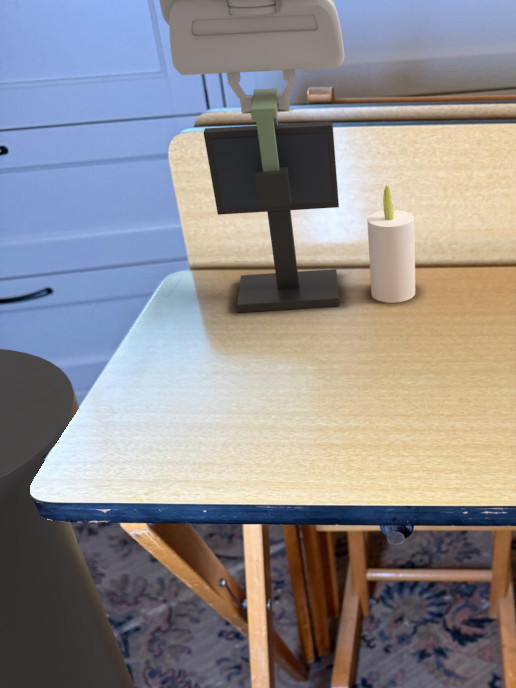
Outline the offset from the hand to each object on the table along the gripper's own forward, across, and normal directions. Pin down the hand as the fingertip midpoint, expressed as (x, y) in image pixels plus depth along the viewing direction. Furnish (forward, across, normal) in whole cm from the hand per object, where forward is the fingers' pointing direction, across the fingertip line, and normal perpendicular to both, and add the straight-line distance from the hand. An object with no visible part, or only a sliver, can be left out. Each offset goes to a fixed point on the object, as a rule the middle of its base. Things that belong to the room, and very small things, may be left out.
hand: (266, 111), depth 98 cm
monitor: (+24, 0, 0) cm, 24 cm away
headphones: (+10, 0, 0) cm, 10 cm away
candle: (+24, +15, -2) cm, 28 cm away
